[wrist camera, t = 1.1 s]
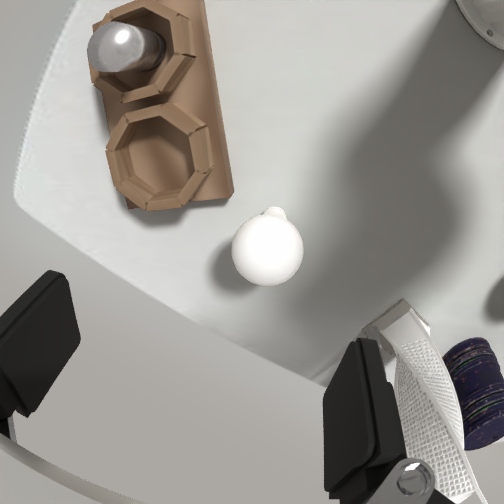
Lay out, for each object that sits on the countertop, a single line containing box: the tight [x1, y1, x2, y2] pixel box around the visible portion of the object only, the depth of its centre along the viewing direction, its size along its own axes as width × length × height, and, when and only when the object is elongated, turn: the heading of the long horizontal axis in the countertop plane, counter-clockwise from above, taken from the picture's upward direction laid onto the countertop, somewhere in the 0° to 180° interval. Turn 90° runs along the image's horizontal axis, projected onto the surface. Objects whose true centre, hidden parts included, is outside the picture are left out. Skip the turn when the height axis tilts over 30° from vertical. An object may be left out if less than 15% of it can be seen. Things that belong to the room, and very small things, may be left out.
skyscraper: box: [362, 299, 488, 504], centre depth 27 cm, size 8×8×28 cm
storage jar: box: [442, 337, 504, 451], centre depth 34 cm, size 10×10×15 cm
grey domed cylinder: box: [87, 22, 167, 72], centre depth 22 cm, size 4×4×7 cm
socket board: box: [88, 0, 234, 211], centre depth 27 cm, size 12×22×5 cm, turn 8°
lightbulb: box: [231, 207, 303, 286], centre depth 29 cm, size 6×6×11 cm
